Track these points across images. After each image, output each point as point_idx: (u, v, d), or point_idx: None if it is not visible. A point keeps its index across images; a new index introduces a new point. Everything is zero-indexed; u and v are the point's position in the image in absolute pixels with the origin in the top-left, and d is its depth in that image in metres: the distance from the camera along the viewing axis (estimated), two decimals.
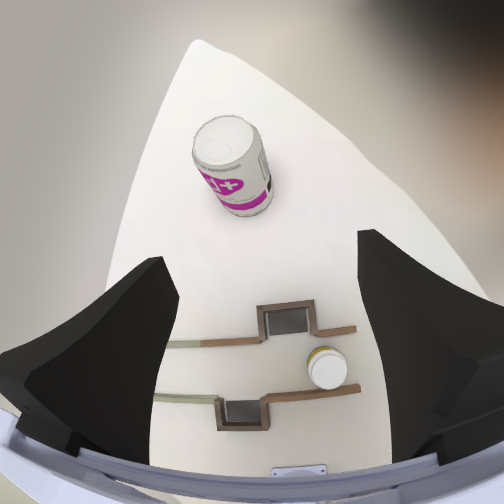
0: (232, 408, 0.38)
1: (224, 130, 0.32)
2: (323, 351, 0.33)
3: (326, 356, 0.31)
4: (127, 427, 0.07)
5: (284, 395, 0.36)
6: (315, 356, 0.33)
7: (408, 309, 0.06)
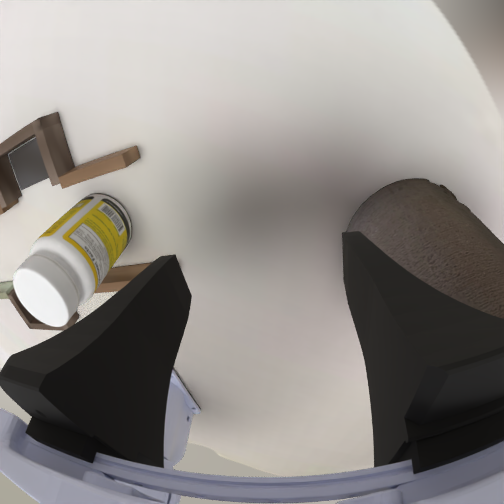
0: None
1: None
2: (36, 242, 0.13)
3: (19, 270, 0.12)
4: (142, 430, 0.07)
5: None
6: (30, 252, 0.13)
7: (385, 313, 0.06)
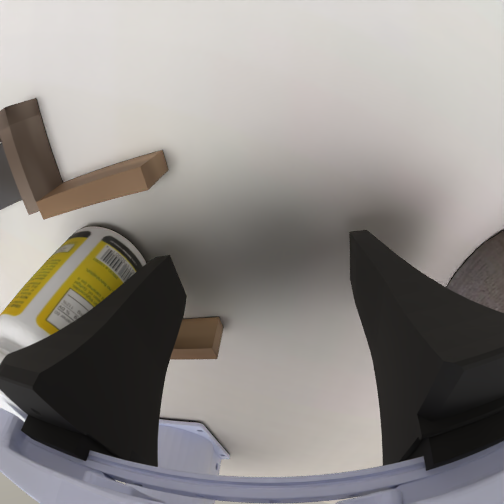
0: None
1: None
2: (0, 321, 0.07)
3: None
4: (136, 429, 0.07)
5: None
6: None
7: (396, 311, 0.06)
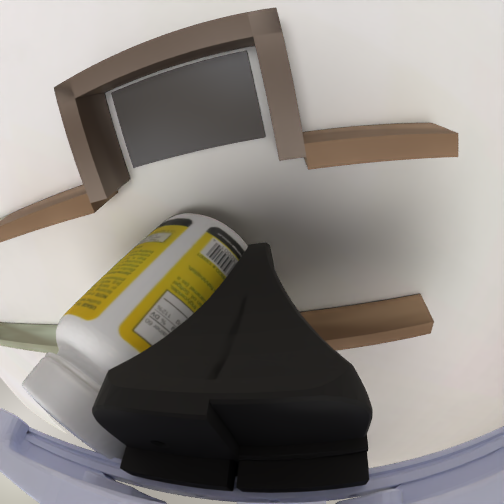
0: None
1: None
2: (65, 323, 0.07)
3: (28, 390, 0.05)
4: None
5: None
6: (57, 331, 0.07)
7: None
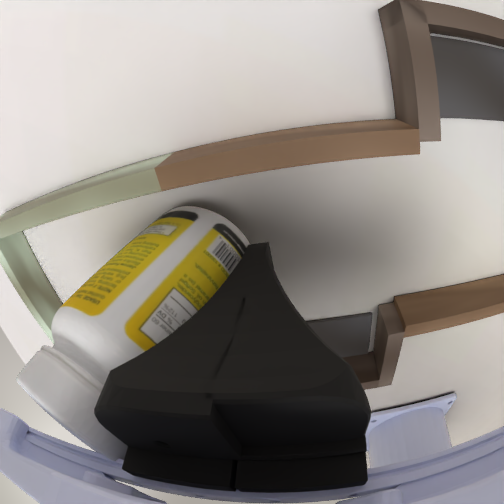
0: None
1: None
2: (65, 316, 0.06)
3: (25, 386, 0.05)
4: None
5: (450, 310, 0.12)
6: (53, 322, 0.07)
7: None
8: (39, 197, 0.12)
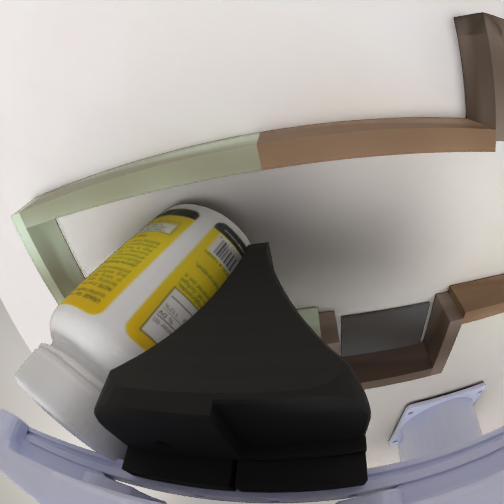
0: (357, 330, 0.14)
1: None
2: (65, 314, 0.06)
3: (24, 385, 0.05)
4: None
5: (499, 297, 0.11)
6: None
7: None
8: (83, 179, 0.11)
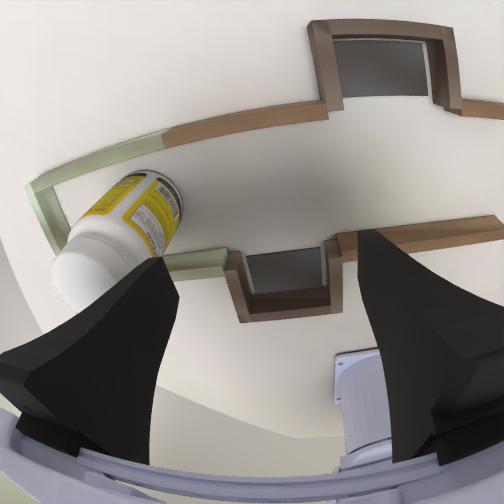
0: (261, 269, 0.20)
1: None
2: (85, 220, 0.12)
3: (66, 254, 0.10)
4: (127, 427, 0.07)
5: None
6: (72, 231, 0.12)
7: (408, 309, 0.06)
8: (72, 161, 0.17)
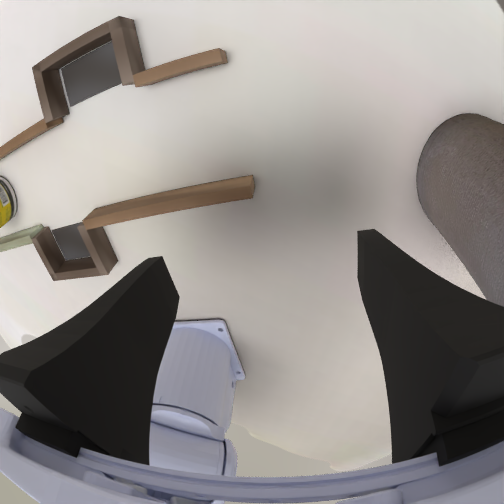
0: (61, 239, 0.23)
1: None
2: None
3: None
4: (127, 427, 0.07)
5: (110, 212, 0.19)
6: None
7: (408, 309, 0.06)
8: None
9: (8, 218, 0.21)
